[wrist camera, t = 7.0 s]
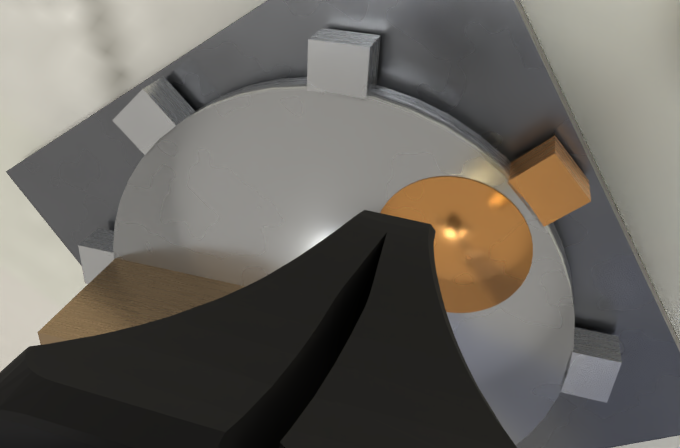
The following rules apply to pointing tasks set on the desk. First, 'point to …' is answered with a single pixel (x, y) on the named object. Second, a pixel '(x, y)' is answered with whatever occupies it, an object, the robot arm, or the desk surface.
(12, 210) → the desk surface
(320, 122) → the tabbed metal disc
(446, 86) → the base plate
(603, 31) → the desk surface
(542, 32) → the desk surface
